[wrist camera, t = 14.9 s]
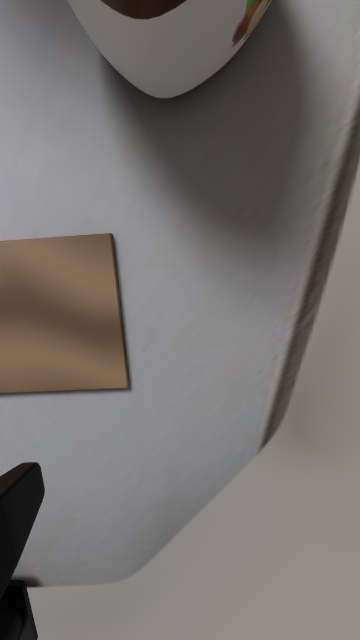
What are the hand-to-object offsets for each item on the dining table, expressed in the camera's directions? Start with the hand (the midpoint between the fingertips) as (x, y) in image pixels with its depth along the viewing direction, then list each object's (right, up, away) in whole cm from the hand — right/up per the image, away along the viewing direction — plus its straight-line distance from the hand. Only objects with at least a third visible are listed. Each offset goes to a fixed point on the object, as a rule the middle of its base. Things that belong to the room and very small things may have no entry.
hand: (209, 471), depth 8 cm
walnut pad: (-10, +4, +12) cm, 16 cm away
